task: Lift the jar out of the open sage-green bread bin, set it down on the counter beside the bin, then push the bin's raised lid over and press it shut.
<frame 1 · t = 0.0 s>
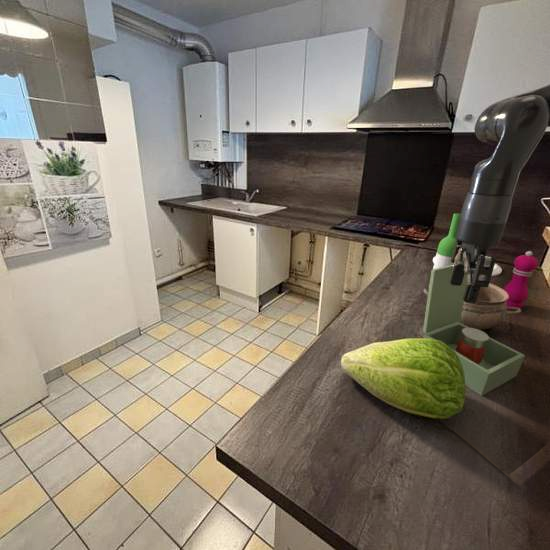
hand: (461, 292, 62), 22 cm above the worktop, tool pointing down, fingers open, 8 cm apart
lettuce: (394, 391, 65), on the worktop
cooking pot: (461, 324, 91), on the worktop
ceiling medallion: (465, 265, 139), on the worktop
wine bottle: (439, 292, 112), on the worktop
pepper mill: (510, 305, 102), on the worktop
jar: (465, 364, 72), point 1 cm above the worktop, touching bread bin
bread bin: (464, 367, 72), on the worktop
bin lid: (446, 297, 74), point 16 cm above the worktop, hinge at 95.0°
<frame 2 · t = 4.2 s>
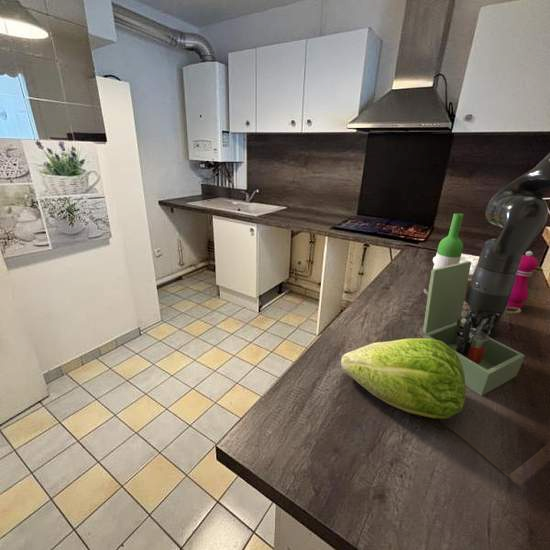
hand: (470, 349, 70), 5 cm above the worktop, tool pointing down, fingers closed on jar, 5 cm apart
jar: (465, 364, 72), point 1 cm above the worktop, touching bread bin, gripper
everything else where it was.
when the fingers open (5 cm above the worktop, at t = 12.4 s): jar stays where it is, on the worktop.
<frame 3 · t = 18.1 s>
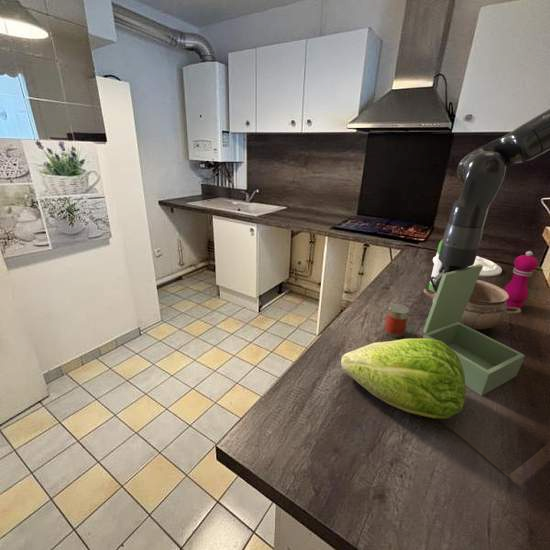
hand: (443, 307, 75), 12 cm above the worktop, tool pointing down, fingers closed
jar: (393, 334, 85), on the worktop
bin lid: (452, 299, 72), point 16 cm above the worktop, hinge at 85.0°, touching gripper
everything else where it was.
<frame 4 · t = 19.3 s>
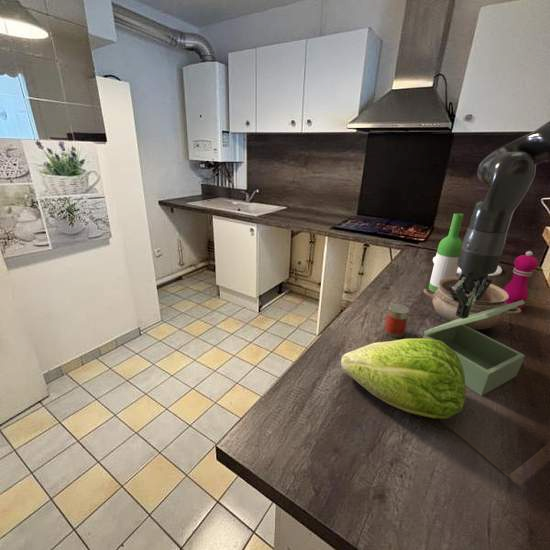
hand: (461, 316, 71), 12 cm above the worktop, tool pointing down, fingers closed
bin lid: (470, 318, 69), point 13 cm above the worktop, hinge at 43.7°, touching gripper
everything else where it was.
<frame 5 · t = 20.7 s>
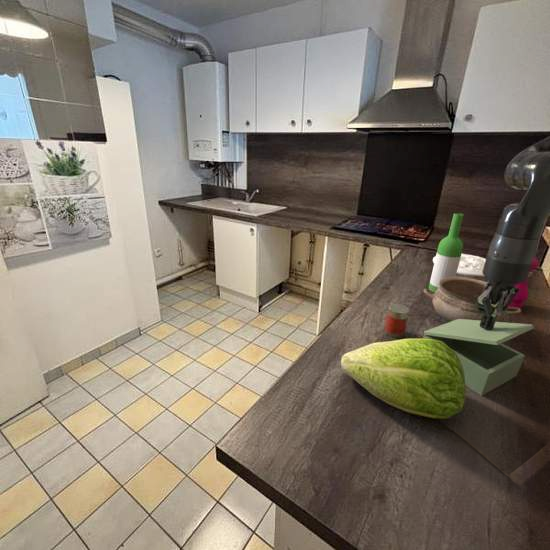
hand: (485, 327, 66), 12 cm above the worktop, tool pointing down, fingers closed
bin lid: (475, 330, 69), point 11 cm above the worktop, hinge at 24.3°
everything else where it was.
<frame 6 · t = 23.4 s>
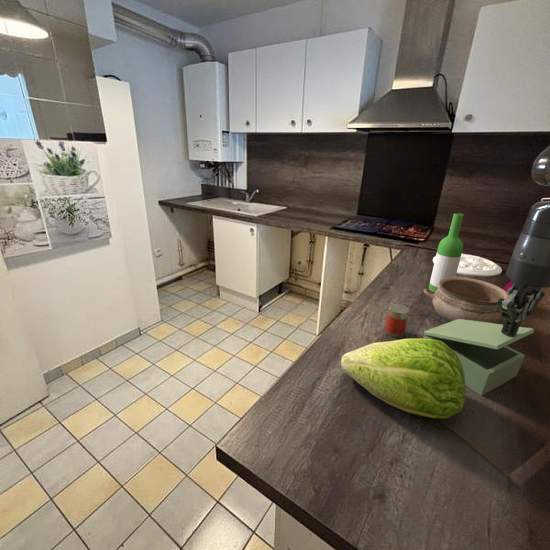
hand: (508, 334, 62), 14 cm above the worktop, tool pointing down, fingers closed
bin lid: (475, 331, 69), point 10 cm above the worktop, hinge at 21.2°
everything else where it was.
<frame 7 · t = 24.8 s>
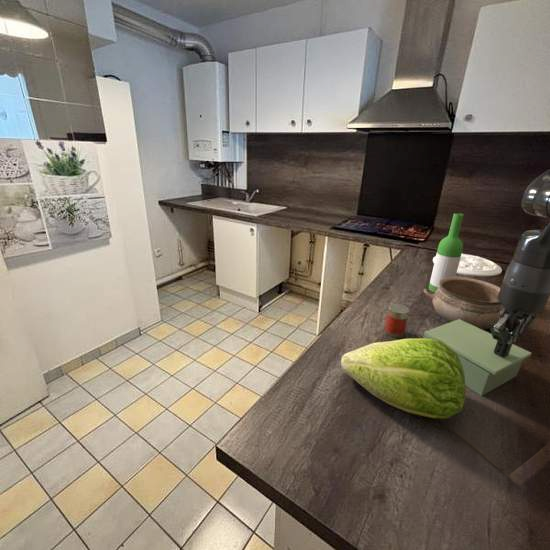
hand: (500, 354, 64), 8 cm above the worktop, tool pointing down, fingers closed
bin lid: (474, 343, 69), point 8 cm above the worktop, hinge at 1.3°, touching gripper
everything else where it was.
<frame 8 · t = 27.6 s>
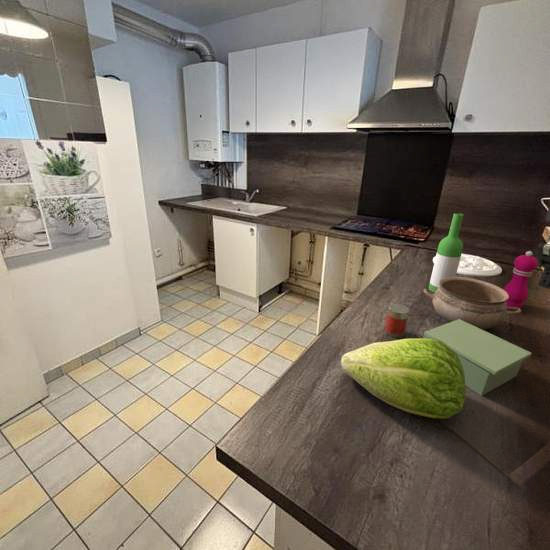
hand: (546, 286, 57), 25 cm above the worktop, tool pointing down, fingers closed
bin lid: (474, 343, 69), point 8 cm above the worktop, hinge at 1.3°
everything else where it was.
at the end: jar inside the target area (0.0 cm from its centre), on the worktop; jar tilted 0°; bin lid at +1° (first picture: +95°) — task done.
